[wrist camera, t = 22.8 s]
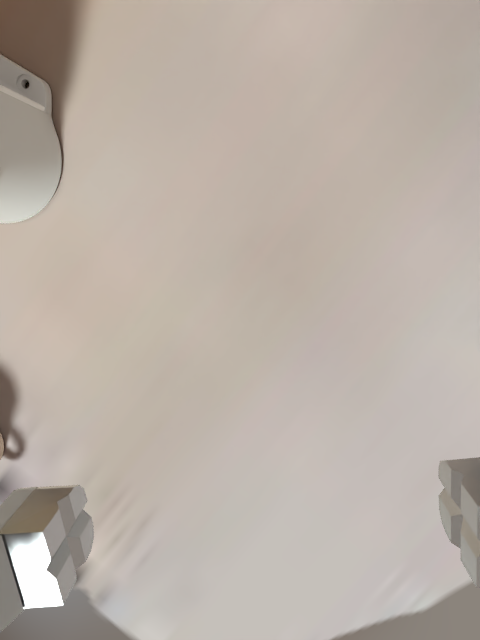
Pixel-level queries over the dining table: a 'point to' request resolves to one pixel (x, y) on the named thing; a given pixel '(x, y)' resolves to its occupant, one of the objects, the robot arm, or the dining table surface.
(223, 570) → the dining table surface
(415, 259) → the dining table surface
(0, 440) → the teacup with lid
